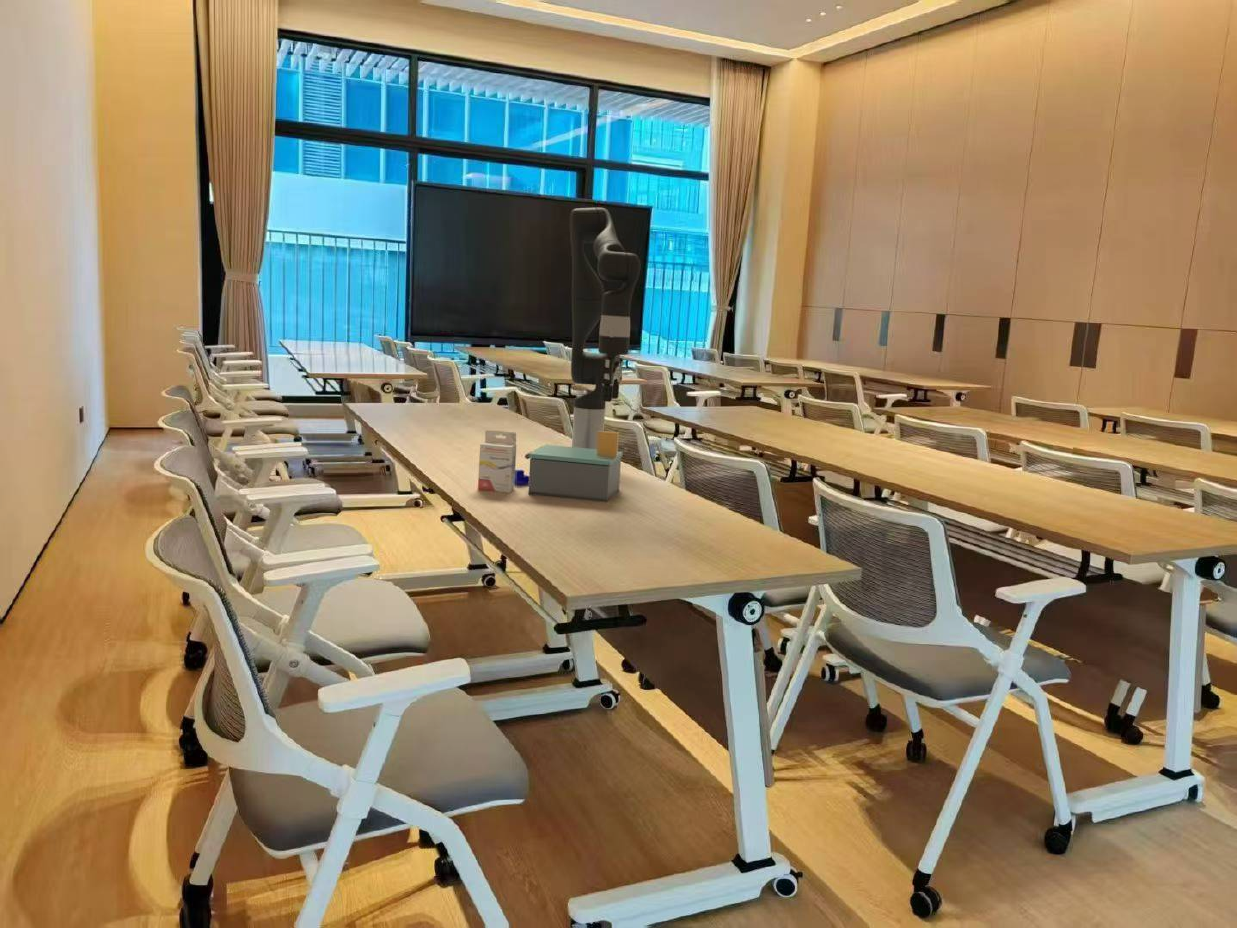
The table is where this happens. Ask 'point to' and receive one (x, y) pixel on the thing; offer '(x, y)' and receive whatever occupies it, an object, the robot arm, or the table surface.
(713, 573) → the table surface
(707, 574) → the table surface
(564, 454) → the lid
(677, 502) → the table surface
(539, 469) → the box
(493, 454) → the ink cartridge box
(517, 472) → the cable holder
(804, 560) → the table surface
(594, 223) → the robot arm
